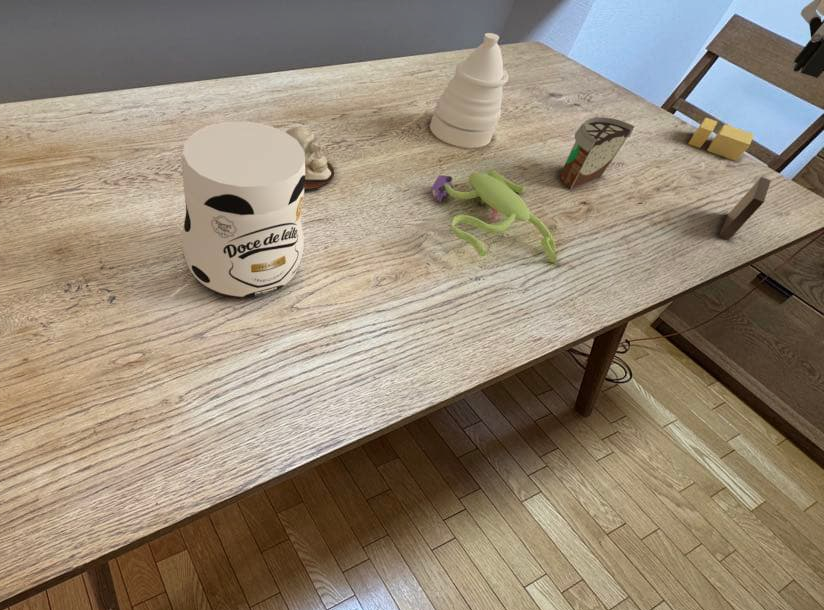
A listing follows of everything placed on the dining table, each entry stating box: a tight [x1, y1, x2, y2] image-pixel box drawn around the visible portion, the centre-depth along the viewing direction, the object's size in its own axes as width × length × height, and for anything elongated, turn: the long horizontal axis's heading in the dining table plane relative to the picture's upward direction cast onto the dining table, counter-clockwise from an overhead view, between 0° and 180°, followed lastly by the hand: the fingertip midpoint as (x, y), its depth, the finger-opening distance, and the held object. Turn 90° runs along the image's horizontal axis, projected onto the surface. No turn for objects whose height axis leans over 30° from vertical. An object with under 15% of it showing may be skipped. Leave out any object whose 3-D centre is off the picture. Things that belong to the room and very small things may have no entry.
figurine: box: [431, 169, 558, 265], centre depth 87 cm, size 18×27×6 cm
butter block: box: [706, 123, 755, 162], centre depth 110 cm, size 6×6×4 cm
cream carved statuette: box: [285, 126, 335, 190], centre depth 92 cm, size 12×10×10 cm
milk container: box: [181, 121, 305, 299], centre depth 70 cm, size 17×17×18 cm
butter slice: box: [687, 117, 718, 149], centre depth 111 cm, size 2×6×4 cm, turn 143°
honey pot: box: [429, 32, 510, 149], centre depth 100 cm, size 13×13×18 cm
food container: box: [559, 116, 636, 190], centre depth 96 cm, size 12×6×10 cm, turn 123°
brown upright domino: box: [718, 176, 772, 241], centre depth 91 cm, size 2×9×8 cm, turn 143°
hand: (806, 71), depth 84 cm, fingers closed
